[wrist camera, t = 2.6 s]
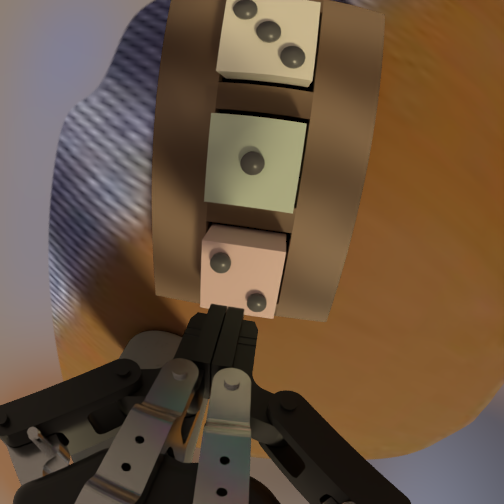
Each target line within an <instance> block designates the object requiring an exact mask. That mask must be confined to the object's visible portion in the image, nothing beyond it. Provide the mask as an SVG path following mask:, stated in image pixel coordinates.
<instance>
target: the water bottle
mask: <svg viewBox="0 0 504 504" xmlns="http://www.w3.org/2000/svg"><path fill="white" fill-rule="evenodd" d="M181 340H182V337H180V336H178V335H175V334H172V333H169V332H164V331H146V332H142V333H139V334H137V335H135V336H134V337H133V338H132V339H131V340H130V341H129V343H128V344H127V346H126V348H125V349H124V351H123V353H122V354H121V356H120V358H119V359H123V358H125V359H131V360H133V361H135V362H136V363H137V364H138V365H139V366H140V369H157V368H162V367H163V366H164V364H165V363H166V362H168V361H170V360H172V359H173V358H174V356H175V354H176V351H177V349H178V347H179V344H180V342H181ZM207 402H208V399H206V398H203V401H202V404H201V408H200V413H199V416H198V419H197V421H196V424H195V427H194V429H193V432H192V434H191V437H190V440H189V442H188V445H187V448H186V452H185V459H184V463H191V462H192V458H193V454H194V450H195V447H196V443H197V439H198V435H199V432H200V428H201V424H202V420H203V417H204V413H205V409H206V405H207ZM115 437H116V435H115V436H113V437H111V438H109V439H107V440H105V441H103V442H101V443H98V444H96V445H94V446H92V447H89V448H87V449H85V450H83V451H80V452H78V453H75V454H73V455H71V457H72V460H73V462H74V463H75V462H77V461H79V460H81V459H84V458H86V457H88V456H90V455H92V454H94V453H96V452H98V451H100V450H103V449H106V448H109V447H110V446H111V444H112V442H113V441H114V439H115Z"/></svg>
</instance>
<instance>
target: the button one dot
mask: <svg viewBox="0 0 504 504" xmlns="http://www.w3.org/2000/svg"><path fill="white" fill-rule="evenodd" d="M306 126H307V124H306V123H300V122H293V121H287V120H280V119H272V118H264V117H255V116H245V115H234V114H221V113H211V120H210V131H209V142H208V153H207V166H206V179H205V194H204V202H213V203H221V204H229V205H236V206H244V207H251V208H258V209H265V210H272V211H279V212H286V213H292V214H293V210H294V204H295V198H296V192H297V185H298V179H299V173H300V166H301V160H302V153H303V146H304V140H305V133H306Z"/></svg>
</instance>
